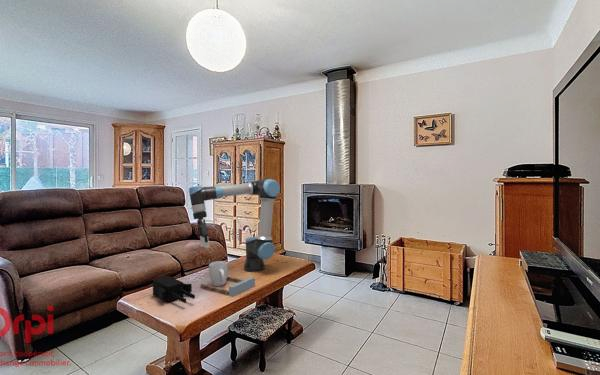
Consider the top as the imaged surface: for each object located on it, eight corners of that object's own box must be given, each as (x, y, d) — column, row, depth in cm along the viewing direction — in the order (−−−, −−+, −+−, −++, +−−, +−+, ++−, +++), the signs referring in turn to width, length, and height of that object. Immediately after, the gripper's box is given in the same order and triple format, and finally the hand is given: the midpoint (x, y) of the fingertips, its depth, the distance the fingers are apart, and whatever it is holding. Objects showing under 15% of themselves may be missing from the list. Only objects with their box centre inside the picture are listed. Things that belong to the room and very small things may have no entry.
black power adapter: (204, 303, 157) (175, 288, 175) (204, 285, 156) (174, 273, 175) (175, 314, 144) (146, 297, 162) (174, 295, 143) (146, 281, 162)
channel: (200, 288, 176) (200, 284, 176) (224, 278, 192) (223, 275, 192) (228, 295, 164) (227, 291, 164) (250, 284, 180) (250, 281, 180)
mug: (232, 286, 177) (232, 265, 177) (214, 290, 171) (214, 268, 171) (224, 280, 190) (224, 260, 189) (207, 283, 184) (206, 262, 183)
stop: (229, 295, 164) (228, 286, 164) (251, 285, 180) (251, 277, 179) (233, 296, 162) (232, 287, 162) (254, 286, 178) (254, 277, 178)
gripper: (190, 213, 184) (196, 247, 184) (195, 212, 162) (202, 250, 161) (202, 211, 188) (208, 244, 187) (209, 209, 165) (215, 246, 165)
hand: (205, 247), depth 174 cm, fingers open, 13 cm apart
